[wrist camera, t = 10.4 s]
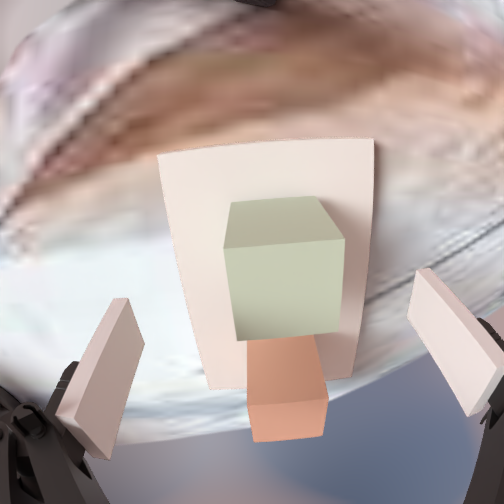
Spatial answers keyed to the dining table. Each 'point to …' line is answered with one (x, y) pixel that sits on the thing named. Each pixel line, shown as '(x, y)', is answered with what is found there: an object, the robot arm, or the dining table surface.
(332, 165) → the stand
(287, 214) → the pale green block
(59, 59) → the dining table surface
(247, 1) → the grey curved bar
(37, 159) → the dining table surface
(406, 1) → the dining table surface
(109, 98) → the dining table surface
